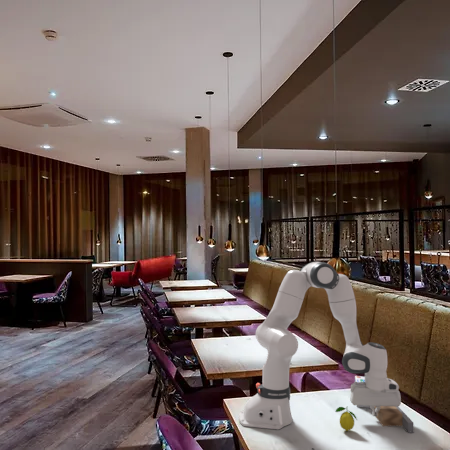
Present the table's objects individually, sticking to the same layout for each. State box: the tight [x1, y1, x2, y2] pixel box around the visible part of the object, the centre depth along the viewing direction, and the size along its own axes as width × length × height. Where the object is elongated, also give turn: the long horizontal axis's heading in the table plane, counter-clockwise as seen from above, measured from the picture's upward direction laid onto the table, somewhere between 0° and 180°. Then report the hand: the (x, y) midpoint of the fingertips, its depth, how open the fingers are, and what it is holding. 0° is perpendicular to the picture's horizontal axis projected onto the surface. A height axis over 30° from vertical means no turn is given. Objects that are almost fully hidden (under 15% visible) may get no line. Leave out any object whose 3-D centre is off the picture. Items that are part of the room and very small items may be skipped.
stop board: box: [395, 406, 414, 434], centre depth 185 cm, size 2×22×4 cm, turn 179°
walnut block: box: [374, 406, 403, 427], centre depth 185 cm, size 8×10×5 cm
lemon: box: [334, 406, 358, 432], centre depth 176 cm, size 7×6×10 cm
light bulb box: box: [354, 375, 371, 409], centre depth 203 cm, size 11×7×11 cm, turn 168°
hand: (374, 415), depth 185 cm, fingers closed
